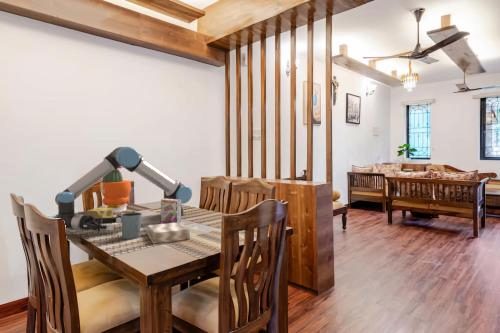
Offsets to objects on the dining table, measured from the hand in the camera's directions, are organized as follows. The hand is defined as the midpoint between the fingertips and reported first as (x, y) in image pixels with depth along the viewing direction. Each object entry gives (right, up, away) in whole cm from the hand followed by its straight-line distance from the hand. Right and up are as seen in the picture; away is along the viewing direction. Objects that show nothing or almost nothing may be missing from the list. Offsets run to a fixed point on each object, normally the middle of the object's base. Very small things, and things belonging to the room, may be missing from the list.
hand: (120, 224), depth 161 cm
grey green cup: (+6, -7, 0) cm, 9 cm away
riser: (+24, -7, +1) cm, 25 cm away
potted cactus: (-31, -3, +66) cm, 73 cm away
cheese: (-22, -5, +22) cm, 31 cm away
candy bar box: (+21, -6, +20) cm, 30 cm away
